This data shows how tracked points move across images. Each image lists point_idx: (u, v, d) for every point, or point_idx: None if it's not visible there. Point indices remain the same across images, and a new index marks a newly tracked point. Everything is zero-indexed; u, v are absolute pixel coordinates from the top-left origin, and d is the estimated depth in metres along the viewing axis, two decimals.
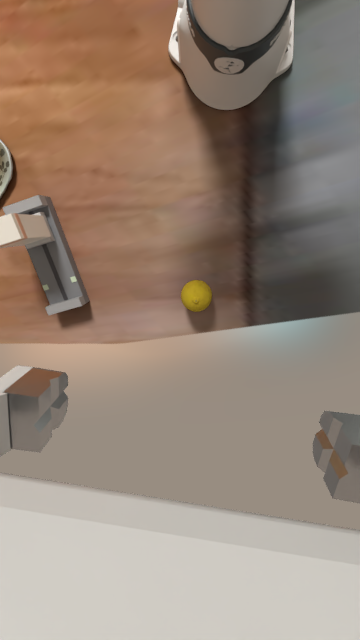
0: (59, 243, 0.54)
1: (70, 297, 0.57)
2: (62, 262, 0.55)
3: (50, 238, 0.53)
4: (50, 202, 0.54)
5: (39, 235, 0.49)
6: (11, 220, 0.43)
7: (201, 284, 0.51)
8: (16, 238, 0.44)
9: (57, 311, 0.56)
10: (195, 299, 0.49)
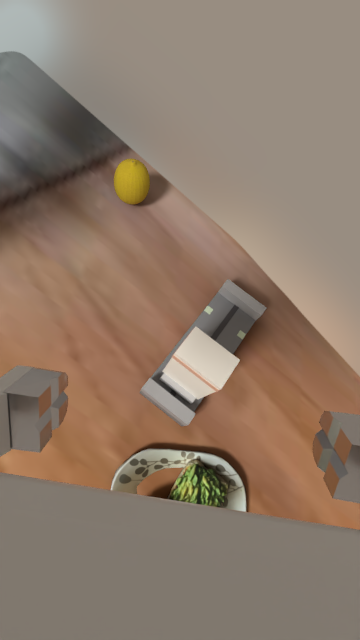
0: None
1: (230, 303, 0.45)
2: None
3: None
4: None
5: None
6: (182, 347, 0.29)
7: (115, 175, 0.44)
8: (200, 331, 0.30)
9: (254, 300, 0.43)
10: (131, 162, 0.43)
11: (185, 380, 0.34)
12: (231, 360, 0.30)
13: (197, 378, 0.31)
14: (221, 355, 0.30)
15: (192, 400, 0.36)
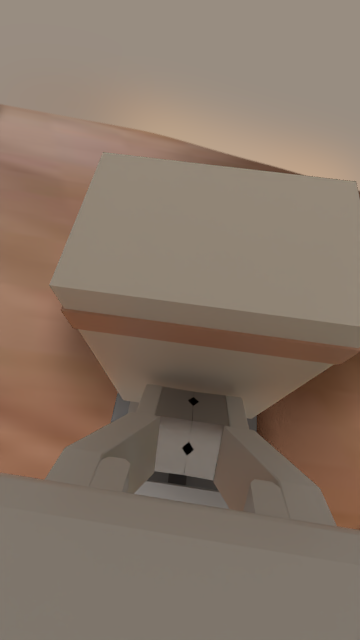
0: None
1: None
2: None
3: None
4: None
5: None
6: (77, 246, 0.05)
7: None
8: (132, 161, 0.07)
9: None
10: None
11: (190, 390, 0.10)
12: (326, 196, 0.06)
13: (227, 356, 0.07)
14: (273, 198, 0.06)
15: None
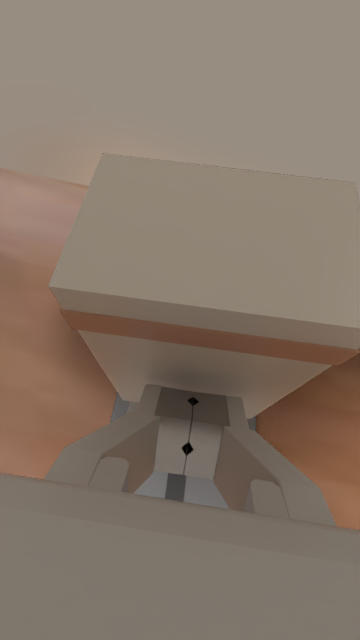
0: None
1: None
2: None
3: None
4: None
5: None
6: (76, 248, 0.05)
7: None
8: (131, 161, 0.07)
9: None
10: None
11: (189, 390, 0.10)
12: (325, 197, 0.06)
13: (226, 357, 0.07)
14: (272, 199, 0.06)
15: None
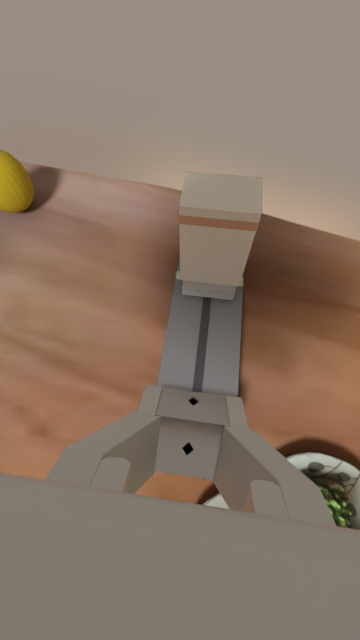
0: (171, 335, 0.28)
1: None
2: (184, 305, 0.29)
3: None
4: None
5: None
6: (184, 197, 0.21)
7: None
8: (195, 173, 0.22)
9: None
10: None
11: (212, 261, 0.25)
12: (252, 182, 0.21)
13: (224, 232, 0.22)
14: (236, 183, 0.21)
15: (233, 290, 0.28)
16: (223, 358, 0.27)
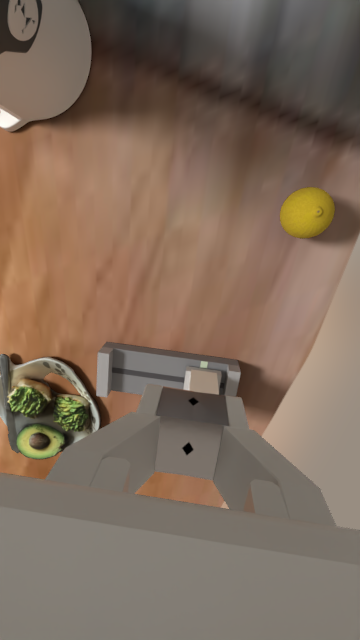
0: (157, 358, 0.43)
1: (223, 379, 0.44)
2: (179, 366, 0.43)
3: (218, 374, 0.42)
4: (111, 344, 0.45)
5: (216, 386, 0.38)
6: None
7: (295, 195, 0.32)
8: None
9: None
10: (315, 210, 0.30)
11: None
12: None
13: None
14: None
15: None
16: (144, 386, 0.45)
